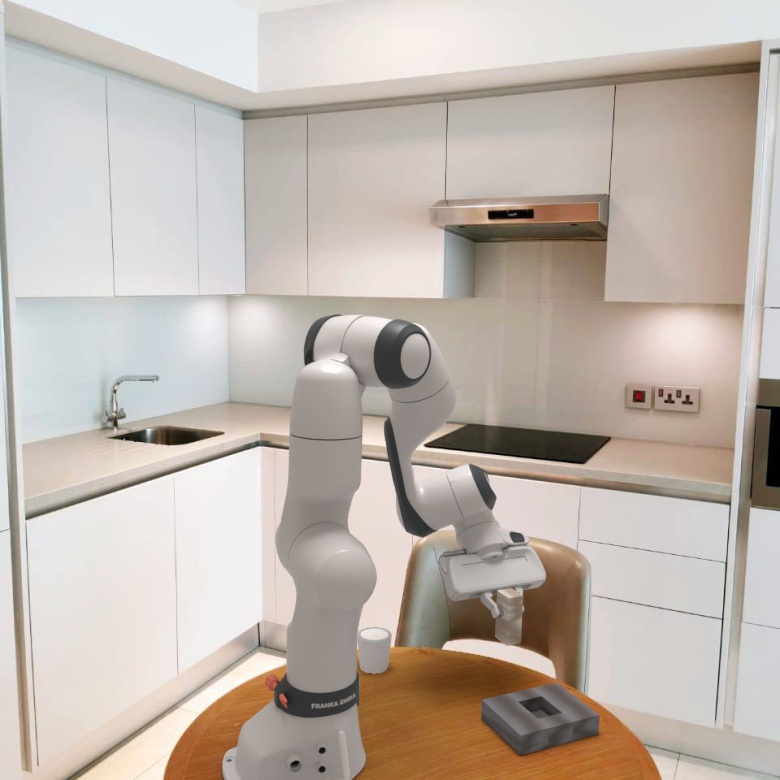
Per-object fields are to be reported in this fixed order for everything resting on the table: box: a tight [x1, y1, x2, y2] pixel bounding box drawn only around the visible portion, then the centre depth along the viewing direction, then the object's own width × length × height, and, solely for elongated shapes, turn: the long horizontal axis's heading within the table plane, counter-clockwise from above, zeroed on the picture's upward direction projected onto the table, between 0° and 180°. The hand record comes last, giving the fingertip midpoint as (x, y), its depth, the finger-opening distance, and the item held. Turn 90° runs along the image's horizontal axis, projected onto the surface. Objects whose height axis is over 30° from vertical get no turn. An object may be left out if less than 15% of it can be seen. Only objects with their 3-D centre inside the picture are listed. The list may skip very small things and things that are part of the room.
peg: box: [494, 588, 524, 647], centre depth 143 cm, size 3×4×9 cm
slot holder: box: [480, 682, 601, 756], centre depth 135 cm, size 16×12×4 cm
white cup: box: [357, 626, 393, 675], centre depth 155 cm, size 7×7×7 cm
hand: (509, 614), depth 142 cm, fingers closed on peg, 3 cm apart
